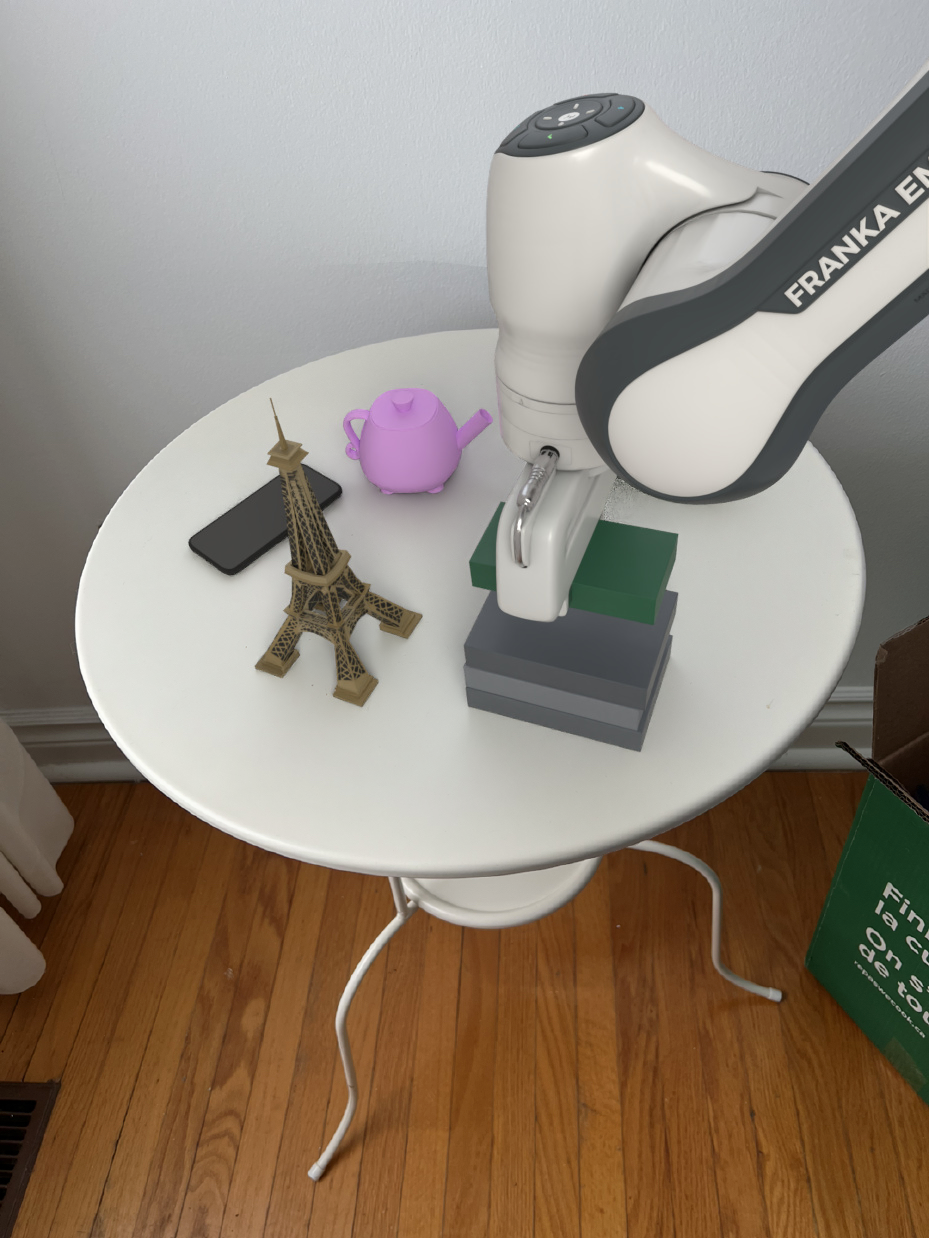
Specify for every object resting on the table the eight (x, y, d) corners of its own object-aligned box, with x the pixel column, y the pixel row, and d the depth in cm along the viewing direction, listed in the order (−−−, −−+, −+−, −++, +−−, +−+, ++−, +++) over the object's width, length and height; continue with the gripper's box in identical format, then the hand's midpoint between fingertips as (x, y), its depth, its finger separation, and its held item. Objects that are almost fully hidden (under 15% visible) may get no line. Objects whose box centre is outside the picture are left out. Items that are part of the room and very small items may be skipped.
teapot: (357, 443, 98) (341, 367, 91) (498, 439, 96) (493, 361, 89) (343, 508, 91) (324, 431, 84) (494, 505, 89) (488, 426, 82)
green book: (675, 559, 65) (678, 533, 63) (653, 625, 61) (656, 600, 59) (502, 526, 69) (500, 501, 67) (471, 586, 65) (468, 561, 63)
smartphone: (182, 541, 88) (298, 459, 95) (185, 548, 89) (300, 466, 96) (228, 574, 85) (346, 487, 91) (231, 581, 85) (348, 494, 92)
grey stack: (670, 654, 75) (678, 591, 70) (640, 752, 69) (646, 692, 64) (509, 617, 80) (505, 555, 74) (467, 706, 74) (459, 646, 68)
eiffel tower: (422, 616, 80) (378, 369, 62) (362, 707, 74) (293, 463, 56) (321, 584, 84) (250, 342, 66) (255, 668, 78) (157, 428, 59)
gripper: (572, 526, 47) (574, 690, 57) (664, 319, 59) (652, 485, 70) (458, 505, 49) (480, 667, 59) (570, 309, 61) (572, 471, 72)
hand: (574, 567), depth 65 cm, fingers closed on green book, 6 cm apart
